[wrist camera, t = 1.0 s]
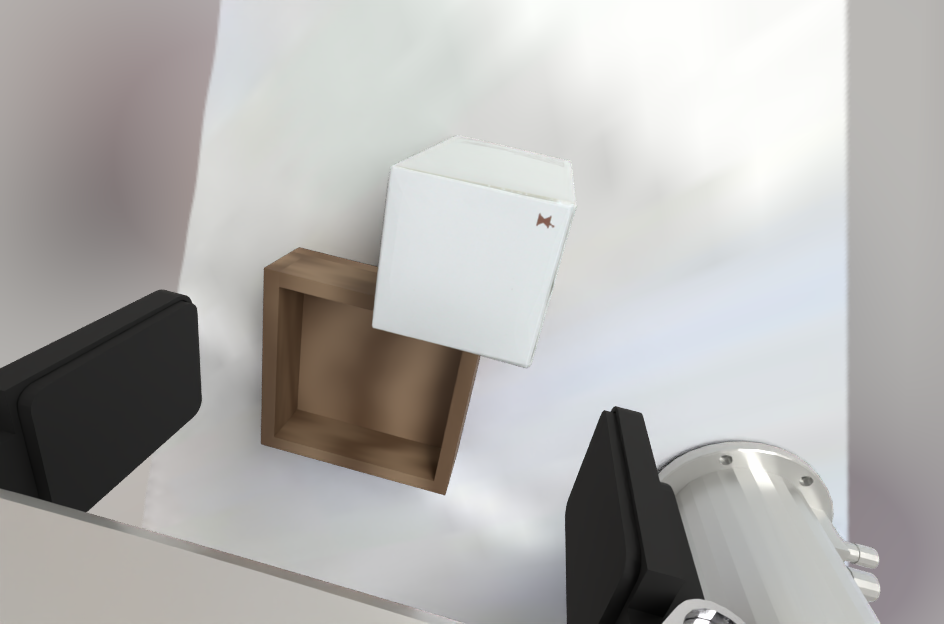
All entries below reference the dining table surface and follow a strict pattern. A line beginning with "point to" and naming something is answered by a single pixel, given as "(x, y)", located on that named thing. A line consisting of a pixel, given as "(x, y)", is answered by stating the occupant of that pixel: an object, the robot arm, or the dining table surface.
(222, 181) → the dining table surface
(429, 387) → the wooden shadow box
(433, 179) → the supplement box
